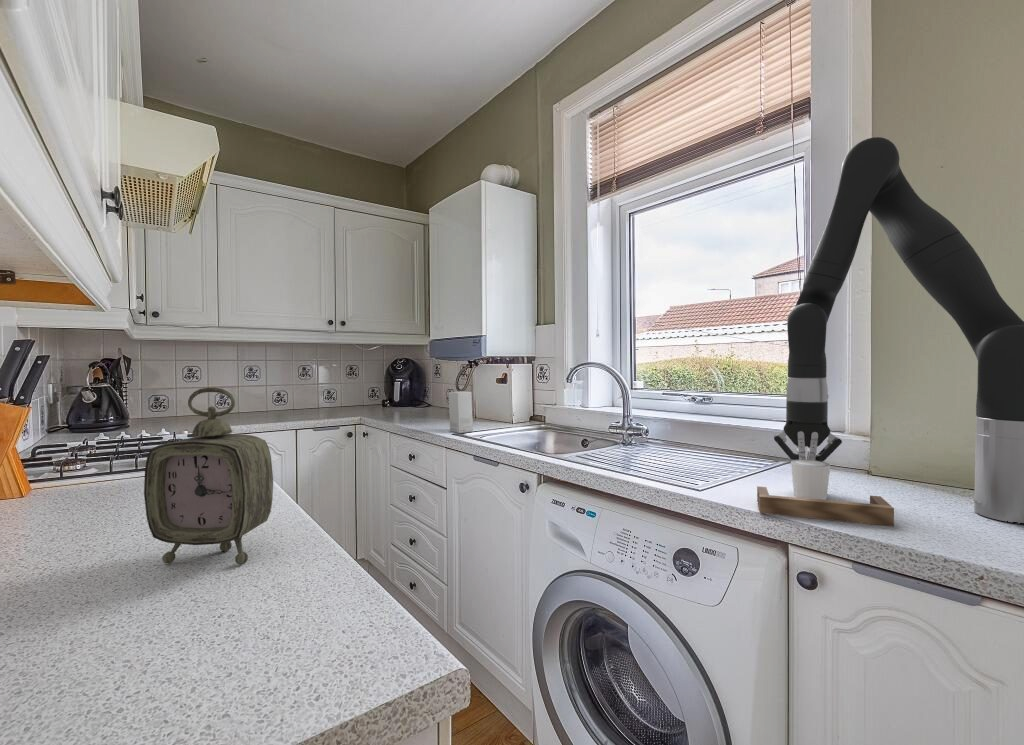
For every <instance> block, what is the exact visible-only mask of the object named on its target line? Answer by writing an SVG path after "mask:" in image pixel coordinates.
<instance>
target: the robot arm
mask: <svg viewBox="0 0 1024 745" xmlns="http://www.w3.org/2000/svg"><path fill="white" fill-rule="evenodd" d="M843 158H844V159H843V160H842V164H841V172H840V177H839V181H838V185H837V190H836V194H835V198H834V201H833V205H832V208H831V211H830V214H829V217H828V219H827V222H826V224H825V228H824V230H823V232H822V235H821V236H820V240H819V242H818V243H817V246H816V249H815V251H814V253H813V256H812V259H811V260H810V264H809V266H808V268H807V271H806V274H805V276H804V278H803V279H804V280H803V283H802V290H801V292H800V294H799V296H798V298H797V301H796V303H795V306H794V308H792V309H791V311H790V312H789V313H788V316H787V323H786V324H787V342H788V360H787V383H786V390H785V391H786V392H785V393H786V394H785V397H786V401H785V402H786V404H785V406H786V408H785V410H786V411H785V414H786V415H785V416H786V417H785V420H786V421H785V425H784V426H783V430H782V431H780V432H779V433H777V434H773V440H774V441H775V443H777V445H778V446H779V447H780V448H781V450H782V451H783V452H784V454H786V456H788V458H789V459H790V460H791V461H792V460H815V461H821V462H825V461H826V460H827V459H828V458H829V457H830V455H831V454H833V453H834V451H836V449H838V448H839V446H841V445H842V444H843V441H842V439H841V438H840V437H837V436H835V435H834V434H833V433H832V432H831V428H830V427H829V425H828V424H829V422H828V421H829V420H828V416H829V415H828V411H829V409H828V408H829V406H828V405H829V404H828V402H829V393H828V392H829V389H828V382H827V380H828V379H827V356H826V342H827V341H826V340H827V339H826V338H827V327H828V326H827V324H828V321H829V319H830V315H831V312H832V310H833V307H834V304H835V301H836V299H837V296H838V294H839V293H840V291H841V289H842V287H843V285H844V282H845V280H846V278H847V276H848V274H849V271H850V268H851V266H852V264H853V261H854V258H855V256H856V253H857V249H858V246H859V242H860V240H861V234H862V231H863V229H864V225H865V222H866V219H867V217H868V215H869V213H870V214H871V215H872V216H873V217H874V218H875V219H876V221H877V222H878V223H879V225H880V226H881V228H882V229H883V232H884V233H885V235H886V237H887V239H888V240H889V242H890V244H891V245H892V247H893V249H894V250H895V251H896V253H897V255H898V256H899V258H900V259H901V261H902V262H903V263H904V265H905V266H906V268H907V269H908V270H909V272H910V273H911V274H912V276H913V277H914V278H915V279H916V281H917V282H918V283H919V284H920V286H921V287H922V288H923V289H924V290H925V291H926V292H927V293H928V294H929V295H930V296H931V297H932V298H933V299H934V301H936V303H937V304H939V305H940V307H942V309H944V310H945V311H946V312H947V314H949V315H950V317H952V320H954V322H955V323H956V324H957V326H958V327H959V329H960V330H961V333H962V334H963V335H964V338H965V339H966V340H967V341H968V344H969V345H970V347H971V349H972V351H973V353H974V355H975V356H976V360H977V387H976V389H977V390H976V391H977V393H976V402H975V403H976V404H975V452H974V454H975V455H974V456H975V457H974V498H973V502H974V512H975V513H976V514H978V515H981V516H983V517H986V518H989V519H994V520H998V521H1003V522H1007V521H1008V523H1013V522H1018V523H1017V524H1020V523H1024V320H1023V319H1022V318H1021V317H1020V316H1019V315H1018V313H1016V311H1015V310H1013V309H1012V308H1011V307H1010V306H1009V304H1008V303H1007V302H1006V301H1005V300H1004V299H1003V297H1002V296H1001V294H1000V293H999V291H998V290H997V287H996V286H995V284H994V282H993V280H992V278H991V276H990V274H989V273H990V272H988V270H987V268H986V266H985V264H984V263H983V261H982V259H981V258H980V256H979V254H978V253H977V252H976V251H975V248H974V247H973V246H972V245H971V243H970V242H969V241H968V240H967V238H965V236H964V235H963V233H961V231H960V230H959V229H958V228H957V227H956V225H955V224H953V223H952V221H950V220H949V219H948V218H946V217H945V215H942V214H941V213H940V212H939V211H937V210H936V209H935V208H933V207H932V206H930V205H929V204H928V203H927V202H925V201H924V200H923V199H921V198H920V196H919V195H918V194H917V193H916V191H915V190H914V188H913V187H912V185H911V184H910V183H909V181H908V180H907V177H906V176H905V175H904V173H903V171H902V168H901V166H900V154H899V151H898V148H897V146H896V145H895V144H894V142H892V141H891V140H890V139H888V138H885V137H883V136H882V137H879V136H877V137H869V138H865V139H863V140H861V141H859V142H857V143H856V144H855V145H853V146H852V148H850V150H848V151H847V153H846V155H845V156H844V157H843ZM787 437H788V439H790V441H791V442H792V443H793V445H795V447H796V451H797V452H793V450H792V449H791V448H790V447H789V446H788V445H787V444H786V443H787V441H788V440H787ZM825 440H826V443H827V444H826V445H825V446H824V447H823V448H822V449H821V450H820V451H819V453H817V449H818V447H819V446H821V444H822V443H824V441H825ZM806 447H807V448H806ZM806 450H807V454H806Z"/></svg>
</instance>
